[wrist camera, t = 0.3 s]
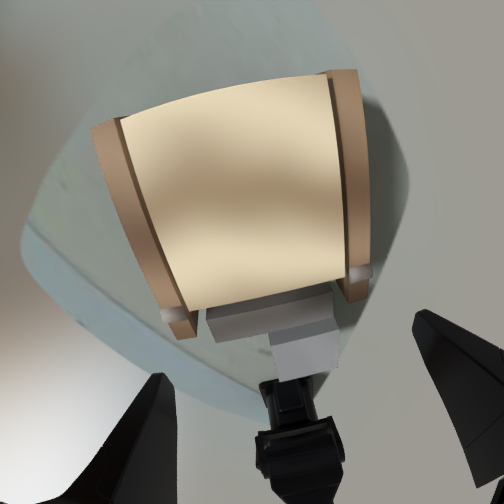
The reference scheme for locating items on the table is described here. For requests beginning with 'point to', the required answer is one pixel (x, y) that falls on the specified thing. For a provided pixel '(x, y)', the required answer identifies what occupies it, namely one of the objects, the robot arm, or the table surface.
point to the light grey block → (305, 349)
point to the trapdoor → (246, 201)
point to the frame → (147, 242)
